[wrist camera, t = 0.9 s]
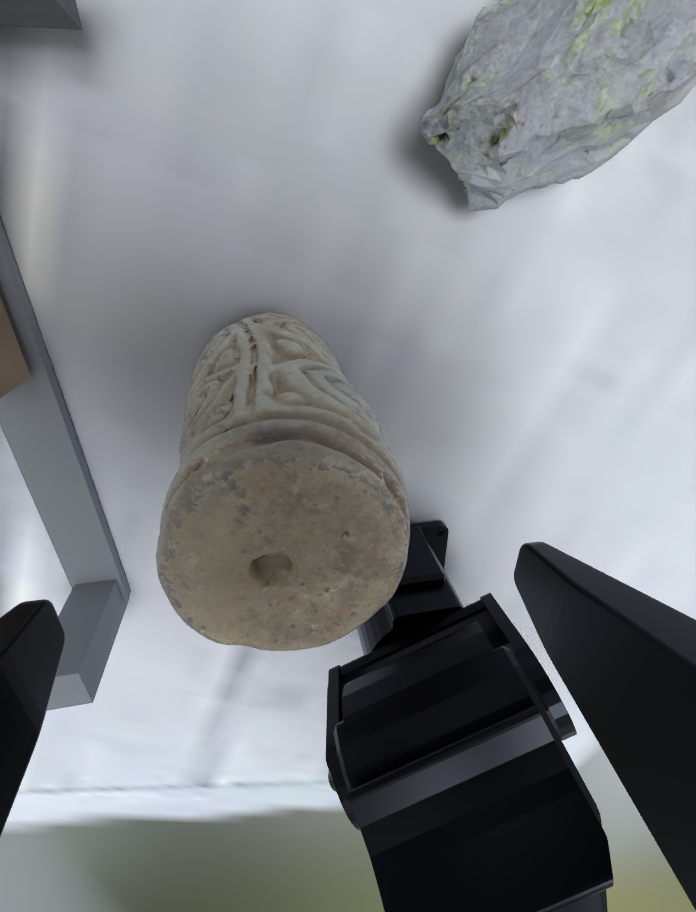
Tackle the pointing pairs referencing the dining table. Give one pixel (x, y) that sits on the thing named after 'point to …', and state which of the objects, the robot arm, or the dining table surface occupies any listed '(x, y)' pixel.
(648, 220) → the dining table surface
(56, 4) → the brown boxy piece
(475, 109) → the rock
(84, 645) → the grey bracket bar
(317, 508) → the carving
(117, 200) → the dining table surface
